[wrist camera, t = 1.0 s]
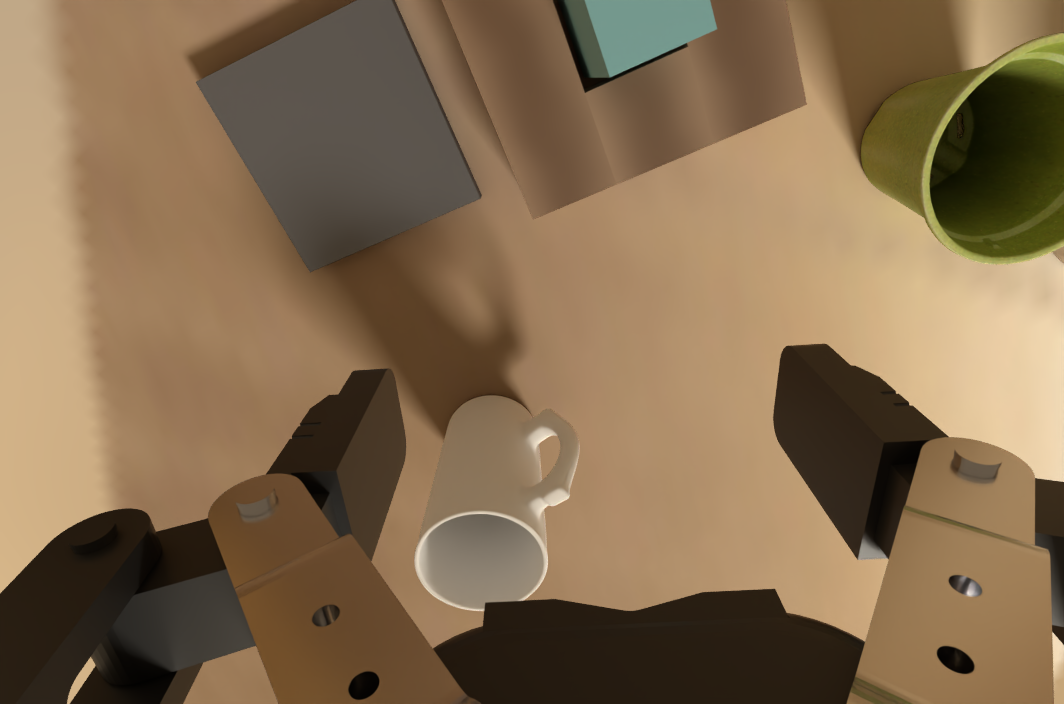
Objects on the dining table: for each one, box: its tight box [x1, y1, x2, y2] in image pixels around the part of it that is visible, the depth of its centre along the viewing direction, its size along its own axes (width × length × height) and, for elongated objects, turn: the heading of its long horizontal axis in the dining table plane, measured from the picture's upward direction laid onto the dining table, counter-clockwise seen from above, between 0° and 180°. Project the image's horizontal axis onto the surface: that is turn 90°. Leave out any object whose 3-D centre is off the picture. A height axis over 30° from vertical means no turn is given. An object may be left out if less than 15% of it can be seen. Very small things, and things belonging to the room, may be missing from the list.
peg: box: [558, 0, 717, 78], centre depth 25 cm, size 4×4×10 cm
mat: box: [196, 0, 482, 272], centre depth 32 cm, size 11×11×1 cm
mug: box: [414, 395, 580, 611], centre depth 35 cm, size 10×7×12 cm, turn 129°
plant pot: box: [861, 32, 1064, 265], centre depth 29 cm, size 9×9×9 cm
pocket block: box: [442, 0, 807, 219], centre depth 28 cm, size 14×14×4 cm
